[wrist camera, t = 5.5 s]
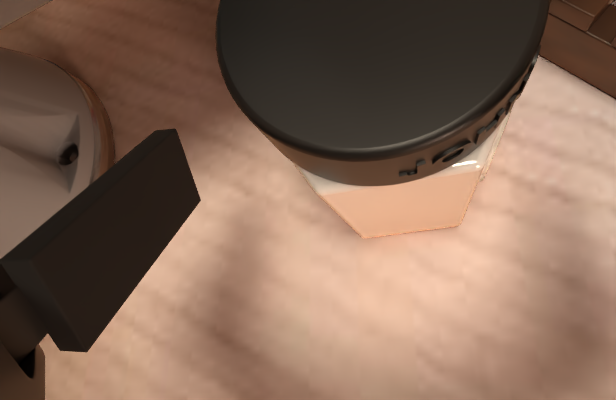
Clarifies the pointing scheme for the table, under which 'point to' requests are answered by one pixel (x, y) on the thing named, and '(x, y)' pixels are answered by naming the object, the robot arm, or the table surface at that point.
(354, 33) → the jar
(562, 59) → the drying rack
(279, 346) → the table surface
